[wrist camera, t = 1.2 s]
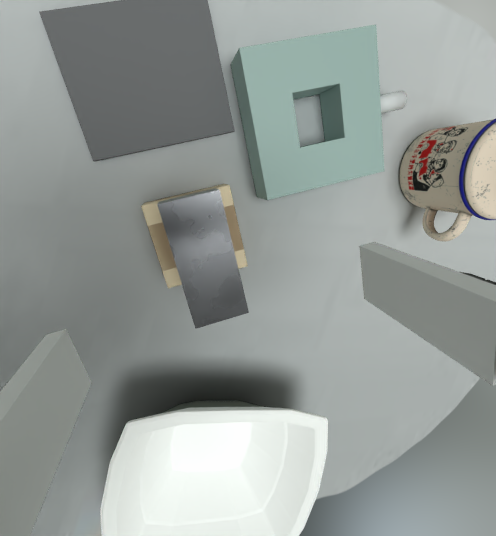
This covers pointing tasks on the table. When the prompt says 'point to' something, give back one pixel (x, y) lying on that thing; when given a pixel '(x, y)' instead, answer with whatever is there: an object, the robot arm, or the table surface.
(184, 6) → the mat
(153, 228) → the beige square frame
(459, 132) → the teacup with lid
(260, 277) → the table surface
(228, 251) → the block
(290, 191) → the block
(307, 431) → the bowl
